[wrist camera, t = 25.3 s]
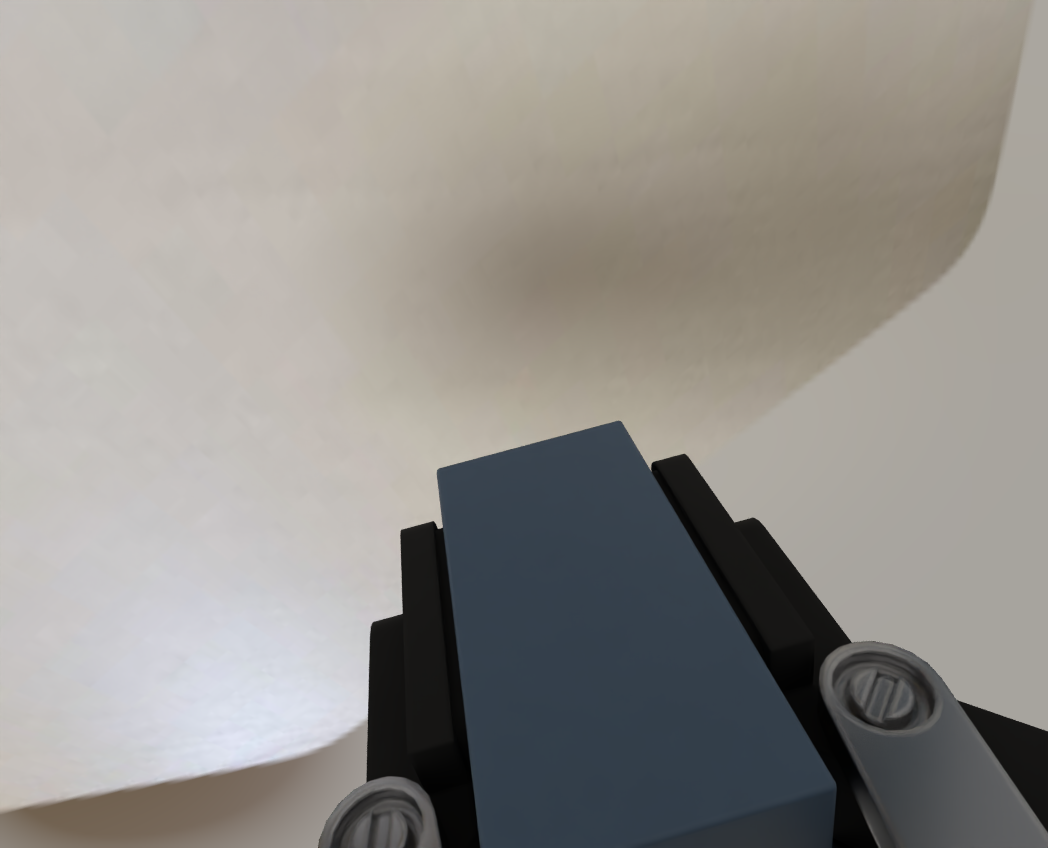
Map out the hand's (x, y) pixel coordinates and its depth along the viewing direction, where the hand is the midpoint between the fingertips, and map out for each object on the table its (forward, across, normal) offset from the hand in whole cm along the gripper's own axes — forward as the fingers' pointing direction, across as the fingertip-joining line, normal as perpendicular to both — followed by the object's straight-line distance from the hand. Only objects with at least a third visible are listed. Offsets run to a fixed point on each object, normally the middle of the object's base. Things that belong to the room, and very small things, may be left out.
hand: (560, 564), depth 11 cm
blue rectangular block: (+1, 0, 0) cm, 1 cm away
